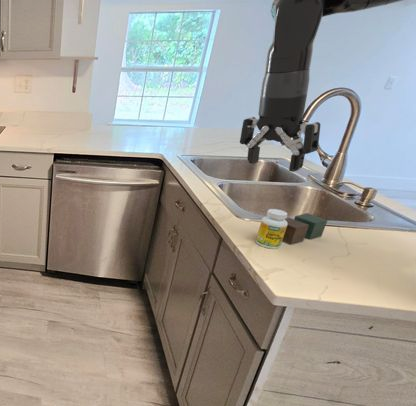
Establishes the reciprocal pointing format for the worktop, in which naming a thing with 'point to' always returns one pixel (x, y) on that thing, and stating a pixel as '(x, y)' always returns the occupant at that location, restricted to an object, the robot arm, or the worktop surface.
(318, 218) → the green block
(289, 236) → the walnut block
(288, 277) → the worktop surface
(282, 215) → the supplement bottle
